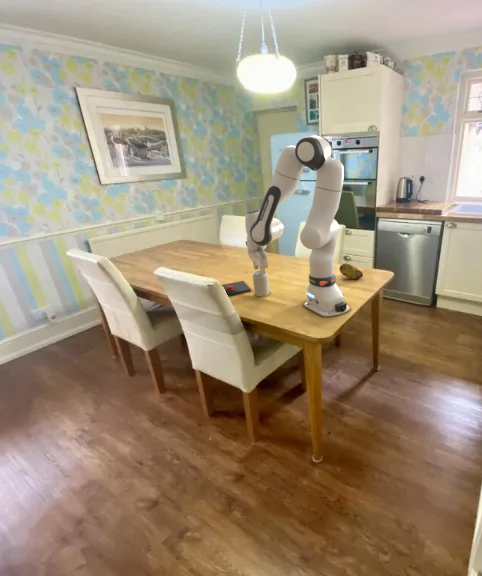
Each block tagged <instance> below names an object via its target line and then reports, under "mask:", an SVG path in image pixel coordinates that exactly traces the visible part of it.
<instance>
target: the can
mask: <svg viewBox="0 0 482 576" xmlns="http://www.w3.org/2000/svg"><path fill="white" fill-rule="evenodd" d="M252 281H253V290H254V295H255V296H257V297H260V298H263V297H266V296H269V294H270V284H269V283H270V282H269V281H270V280H269V274H268V273H267V271H266V270H265V271H264V275H260V270H257V271H254V272H253V275H252Z"/></svg>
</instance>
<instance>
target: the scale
mask: <svg viewBox="0 0 482 576" xmlns="http://www.w3.org/2000/svg"><path fill="white" fill-rule="evenodd" d="M228 285H232V286H233V289H232V290H227V286H228ZM222 286H223V287H224V289H225V291H226V293H227V294H228V296H227V297H230V296H235V295H240V294H244V293H249V292H251V288H250V287H249V285H248V284H247V283H246V282H245V281H244V280H241V281H234V282H230V283H229V282H228V283H225V284H224V283H223V284H221V287H222ZM226 293H225V294H226ZM227 294H226V295H227Z"/></svg>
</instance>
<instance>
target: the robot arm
mask: <svg viewBox="0 0 482 576" xmlns="http://www.w3.org/2000/svg"><path fill="white" fill-rule="evenodd" d="M333 154H334V148H333V145H332V143H331V142H330V141H329V139H327V138H325V137H323V136H319V135H307V136H304V137H302V138H301V139H299V140H298V142H296V145H287V146H285V147H284V148H283V149H282V152H281V153H280V155H279V157H278V160H277V163H276V166H275V169H274V173H273V176H272V179H271V181H270V185H269V187H268V189H267V191H266V194H265V196H264V198H263V202H262V204H261V207H260V209H256V210H251V211H248V212H247V213H246V214H245V218H244V223H245V231H246V241H245V245H246V248H247V255H248V258H249V259H250V260H251V261H252V265H253V269H254V270H259V271H260V275H264V271H266V269H268V268H269V260H268V254H267V252H266V251H265V250H266V249H267V246H268V245H269V244H270V243H271V242H274V241H275V240H277V239H279V238H280V237H282V236H283V235H284V231H285V226H284V224H283V222H282V221H281V220H280V219H279V218H276V217H275V216H276V213H277V210H278V208H279V207H280V205H281V204H282V203H283V202H284V201H286V199H288V198H290V197H291V196H292V195H293V194H295V192H296V190H297V189H298V187H299V184H300V181H301V178H302V174H303V172H304V169H305V168H308V169H310V170H311V171H313V172H316V180H315V186H314V192H313V196H312V197H313V198H312V203H311V206H310V209H309V213H308V216H307V218H306V221H305V224H304V226H303V228H302V230H301V231H300V234H299V240H300V243H301V244H302V246H303V247H304V248H306V249H308V250H311V252H310V255H309V258H308V262H309V266H308V267H309V273H308V282H309V284H308V287H307V288H306V292H305V295H306V302H304V304H303V305H304V307H305V308H307V309H309V310H310V311H312V312H314V313H316V314H318V315H319V316H322V317H325V318H327V317H335V316H339V315H342V314H345V313H347V312H349V311H350V310H351V309H350V306H349V305H348V303H347V302H345V292H344V291H341V290H340V286H338V284H337V278H336V275H335V269H334V267H335V265H334V262H335V259H334V258H335V250H336V245H337V239H338V234H339V232H340V225H339V223H338V221H337V220H336V219H335V217H336V214H337V212H338V210H339V207H340V202H341V196H342V193H343V187H344V179H345V178H344V177H345V167H344V165H343V163H342V162H341V161H340V160H338V159H336V158H333Z"/></svg>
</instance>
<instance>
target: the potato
mask: <svg viewBox="0 0 482 576" xmlns="http://www.w3.org/2000/svg"><path fill="white" fill-rule="evenodd" d="M339 272H340V273H341V275H342V276H344V277H346V278H347V279H349V280H359V279H362V278H363V276H364V273H363V271H362V270H361V269H359V268H358V267H355V266H354V265H352V264H350V263H343V264H341V265H340V266H339Z"/></svg>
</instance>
